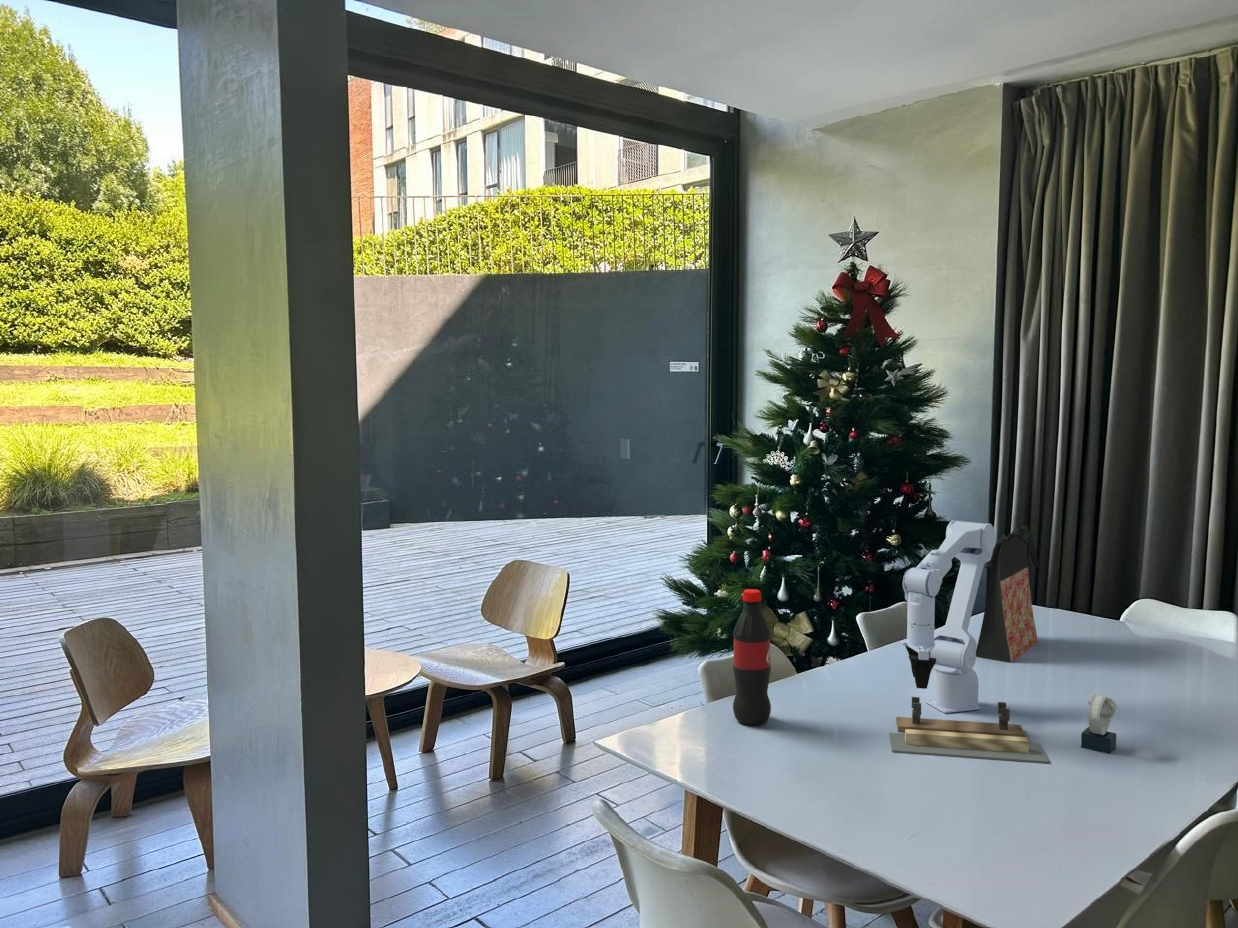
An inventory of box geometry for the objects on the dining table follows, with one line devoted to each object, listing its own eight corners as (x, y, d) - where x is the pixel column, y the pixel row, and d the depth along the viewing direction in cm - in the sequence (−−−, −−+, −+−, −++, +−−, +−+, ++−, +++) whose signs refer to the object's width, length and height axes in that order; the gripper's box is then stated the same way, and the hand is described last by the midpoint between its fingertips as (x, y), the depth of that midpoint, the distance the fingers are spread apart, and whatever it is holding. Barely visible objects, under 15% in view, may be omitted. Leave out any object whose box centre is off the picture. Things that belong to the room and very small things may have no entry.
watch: (1118, 745, 197) (1120, 693, 196) (1107, 756, 191) (1109, 703, 190) (1089, 738, 200) (1091, 688, 200) (1077, 749, 195) (1079, 697, 194)
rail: (1026, 748, 194) (1026, 737, 194) (1028, 752, 192) (1028, 741, 192) (904, 739, 200) (905, 728, 200) (905, 744, 197) (905, 732, 197)
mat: (1038, 744, 197) (1038, 742, 197) (1048, 763, 188) (1048, 761, 188) (889, 734, 204) (889, 732, 204) (892, 751, 194) (892, 749, 194)
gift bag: (1022, 664, 253) (1025, 535, 250) (968, 655, 262) (971, 530, 259) (1051, 640, 276) (1055, 522, 273) (1001, 633, 284) (1004, 518, 281)
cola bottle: (775, 717, 215) (775, 587, 213) (764, 729, 207) (765, 595, 205) (739, 712, 219) (739, 584, 216) (728, 724, 211) (727, 592, 208)
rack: (1020, 729, 206) (1020, 702, 205) (1025, 740, 200) (1026, 711, 199) (896, 721, 211) (896, 694, 211) (898, 731, 206) (898, 703, 205)
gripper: (899, 613, 216) (898, 671, 217) (904, 630, 202) (903, 691, 203) (931, 614, 215) (930, 673, 216) (939, 631, 201) (938, 693, 202)
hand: (919, 682), depth 210 cm, fingers open, 7 cm apart
